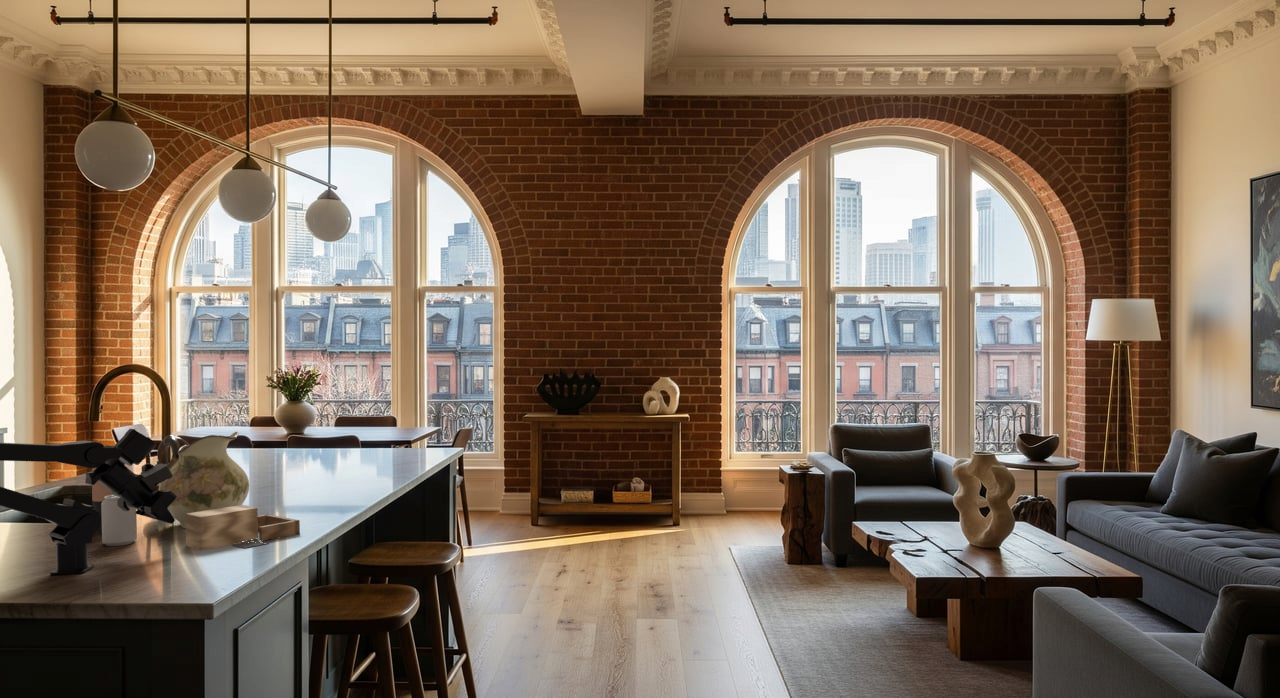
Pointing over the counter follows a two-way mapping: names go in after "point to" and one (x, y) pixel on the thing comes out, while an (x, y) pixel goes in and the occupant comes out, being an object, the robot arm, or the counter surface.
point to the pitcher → (202, 475)
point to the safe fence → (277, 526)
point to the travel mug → (100, 497)
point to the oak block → (221, 526)
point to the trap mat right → (248, 544)
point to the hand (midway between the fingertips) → (173, 521)
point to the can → (117, 523)
